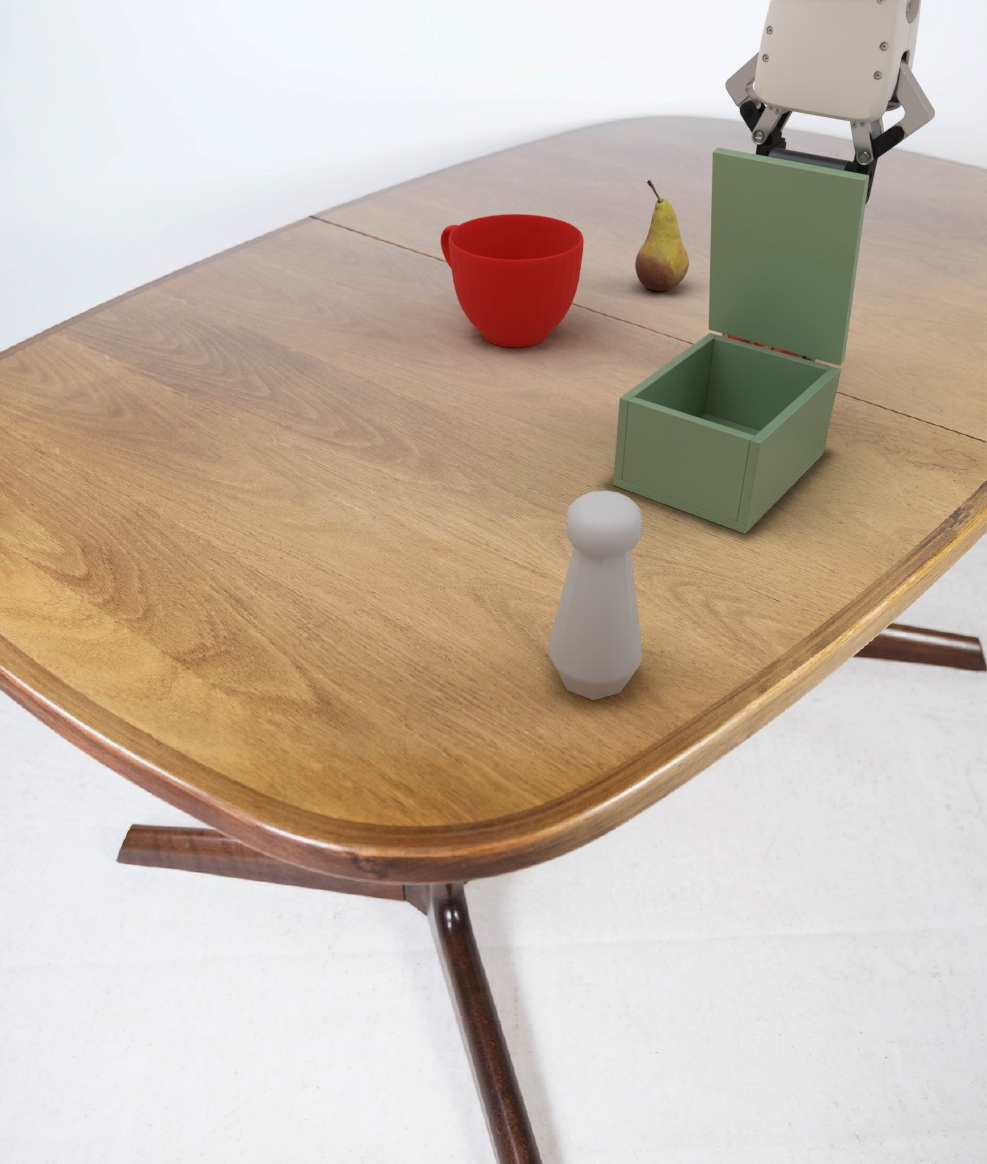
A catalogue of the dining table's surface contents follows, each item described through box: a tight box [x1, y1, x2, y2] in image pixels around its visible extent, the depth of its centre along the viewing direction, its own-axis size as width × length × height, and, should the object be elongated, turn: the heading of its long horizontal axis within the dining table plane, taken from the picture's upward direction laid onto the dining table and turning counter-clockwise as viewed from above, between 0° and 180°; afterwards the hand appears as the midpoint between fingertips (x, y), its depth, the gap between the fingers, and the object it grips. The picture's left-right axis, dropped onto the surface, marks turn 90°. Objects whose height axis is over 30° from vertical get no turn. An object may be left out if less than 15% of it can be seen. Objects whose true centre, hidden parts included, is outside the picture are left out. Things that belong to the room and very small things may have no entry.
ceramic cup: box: [440, 213, 585, 348], centre depth 107 cm, size 13×17×10 cm
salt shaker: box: [548, 490, 643, 701], centre depth 64 cm, size 6×6×13 cm
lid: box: [708, 147, 869, 367], centre depth 83 cm, size 15×12×5 cm
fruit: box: [634, 179, 690, 292], centre depth 115 cm, size 6×6×12 cm
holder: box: [612, 332, 842, 535], centre depth 86 cm, size 15×12×8 cm
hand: (806, 202), depth 82 cm, fingers closed on lid, 6 cm apart
